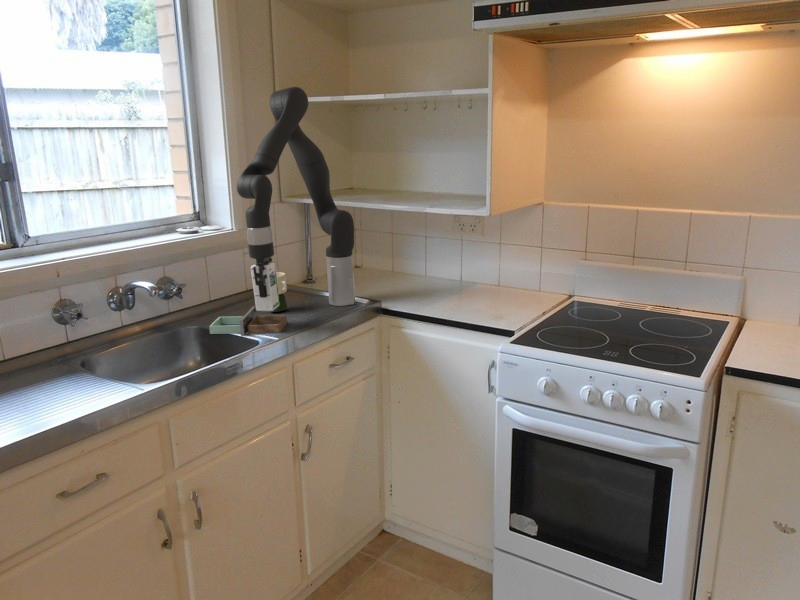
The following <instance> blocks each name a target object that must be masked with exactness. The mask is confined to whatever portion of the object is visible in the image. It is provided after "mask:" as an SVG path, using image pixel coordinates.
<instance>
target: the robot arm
mask: <svg viewBox="0 0 800 600" xmlns="http://www.w3.org/2000/svg"><path fill="white" fill-rule="evenodd" d="M269 108H270V111H271V113H272V115H273V117H274V120H275V121H276V122H275V125H273V127H272V128H271V129H270V130H269V131H268V132H267V134H265V136H264V137H263V138H262V140H261V141H260V143H259V145H258V147H257V149H256V152H255V154H254V156H253V159H252V160H251V161H250V162H249V164H248V165H247V166H246V167H245V168H244V170H242V172H241V174H240V175H239V176H238V179H237V181H236V191H237V194H238V195H239V197H241V198H243V199H248V200H249V199H253V200H254V205H253V206H251V207H248V208H246V210H245V223H246V224H245V225H246V239H247V245H248V246H247V247H248V253H249V254H248V255H249V258H251V259H255V263H254V265H256V267H253V270H254V277H255V284H256V285H258V286H259V295H260V297H261V298H265V297H267V288H266V278H267V275H266V274H265V275H263V271H264V265H268V263H270V262H273V258H272V257H274V255H275V248H274V247H275V246H274V239H273V230H272V226H271V218H270V209H271V202H272V196H273V185H272V182H271V179H270V178H269V177H268V176H269V175H271V174H273V173H274V171H275V169H277V165H278V163H279V161H280V158H281V156H282V153H283V150H284V149H285V147H286V146H287V144H288V147H289V149H290V151H291V153H292V155H293V158H294V160H295V163H296V166H297V168H298V170H299V173H300V175H301V177H302V179H303V181H304V184H305V186H306V189H307V191H308V194H309V196H310V198H311V201H312V204H313V207H314V210H315V213H316V217H317V220H318V224H319V226H320V228H321V230H322V231H323V232H324V233H325V234H327V235H328V236H329V235H330V245H329V246H327V247H326V249H325V257H326V260H325V261H326V273H327V275H326V276H327V289H328V302H329V305H331V306H335V307H336V306H337V307H338V306H339V307H340V306H341V307H343V306H350V305H355V303H356V301H355V298H356V297H357V296H356V295H357V294H356V278H355V274H354V260H353V259H354V258H353V250H354V246H355V221H354V219H353V216H352V214H351V213H350V212H349V211H348V210H343V209H340V208H338V207H337V205H336V203H335V200H334V199H333V197H332V194H331V186H330V184H331V183H330V182H331V181H330V180H331V177H330V176H331V175H330V174H331V173H330V170H329V166H328V163H327V161H326V158H325V156H324V154H323V152H322V150H321V149H320V148H319V147H318V145H317V144H315V142H314V141H312V139H310V138H309V136H308V135H306V133H305V132H304V131H303V130H302V127H301V126H300V122H301V121H302V119H303V118H304V116H305V115H306V112H307V111H308V108H309V98H308V95H307V93H306V92H305V91H304V89H303V88H301V87H298V86H291V87H287V88H283V89H279V90H275V91H273V92H272V93H271V94H270V96H269ZM260 278H261V280H262V281H260Z"/></svg>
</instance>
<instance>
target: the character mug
mask: <svg viewBox="0 0 800 600" xmlns="http://www.w3.org/2000/svg"><path fill="white" fill-rule="evenodd" d="M276 279H277V287H278V295H279V303H280V306H278V307H277V308H276V309H274V310H273V311H270V312H271V313H274V312H275V313H277V312H280V313H282V311H287V310H288V303H287V300H286V296H285V293H286V292H287V290H288V284H287V277H286V273H285V272H280V271H279V272H278V271H276Z"/></svg>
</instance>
